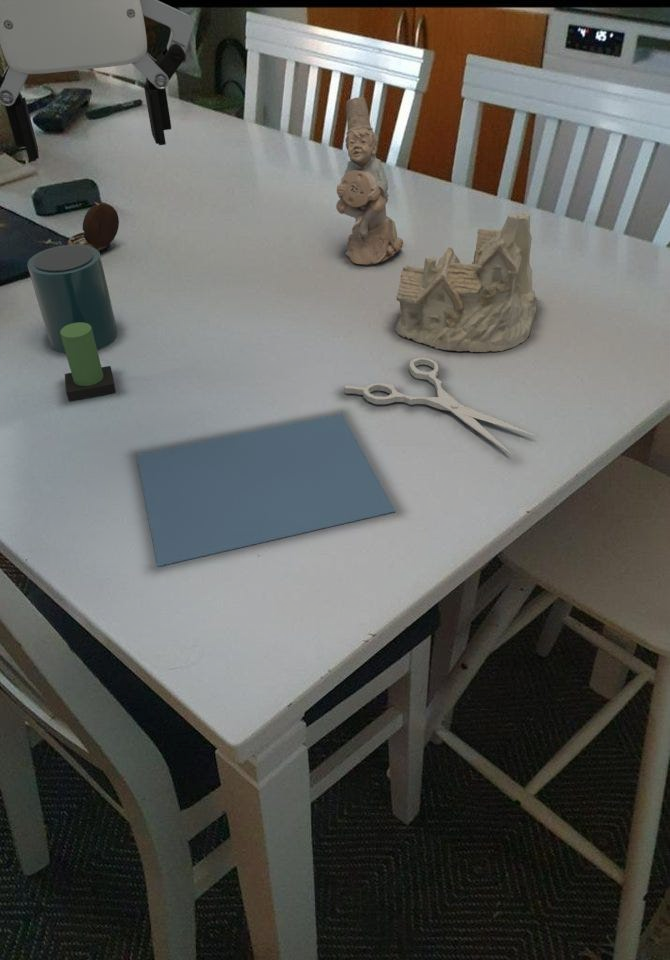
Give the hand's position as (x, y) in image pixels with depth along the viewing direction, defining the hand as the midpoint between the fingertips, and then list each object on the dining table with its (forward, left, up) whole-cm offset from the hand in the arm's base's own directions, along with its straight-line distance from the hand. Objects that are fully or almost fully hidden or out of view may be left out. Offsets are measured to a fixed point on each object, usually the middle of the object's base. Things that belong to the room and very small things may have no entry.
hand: (97, 147), depth 63 cm
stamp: (-6, +12, -28) cm, 31 cm away
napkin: (+8, -10, -28) cm, 31 cm away
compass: (-4, +50, -28) cm, 58 cm away
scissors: (+29, -5, -28) cm, 41 cm away
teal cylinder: (-6, +24, -28) cm, 38 cm away
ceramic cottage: (+39, +12, -28) cm, 50 cm away
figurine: (+34, +34, -28) cm, 56 cm away
